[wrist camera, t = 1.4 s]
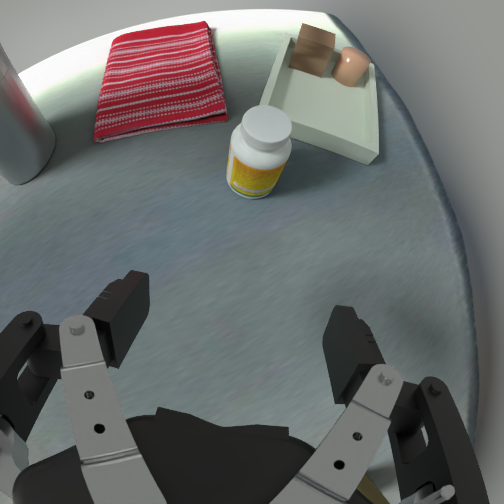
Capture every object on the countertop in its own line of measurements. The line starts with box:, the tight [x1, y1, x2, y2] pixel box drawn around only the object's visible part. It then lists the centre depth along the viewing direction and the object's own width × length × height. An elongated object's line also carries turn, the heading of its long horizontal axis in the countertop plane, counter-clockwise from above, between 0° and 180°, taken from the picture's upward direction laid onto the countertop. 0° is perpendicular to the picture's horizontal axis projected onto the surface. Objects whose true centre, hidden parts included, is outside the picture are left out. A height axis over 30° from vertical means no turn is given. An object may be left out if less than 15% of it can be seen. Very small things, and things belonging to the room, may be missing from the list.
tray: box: [259, 33, 379, 166], centre depth 33 cm, size 15×20×3 cm
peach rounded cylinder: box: [332, 47, 370, 87], centre depth 33 cm, size 4×4×5 cm
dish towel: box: [94, 21, 228, 143], centre depth 31 cm, size 17×24×3 cm
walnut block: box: [289, 23, 335, 78], centre depth 32 cm, size 5×5×6 cm
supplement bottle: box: [226, 105, 292, 199], centre depth 25 cm, size 5×5×10 cm
